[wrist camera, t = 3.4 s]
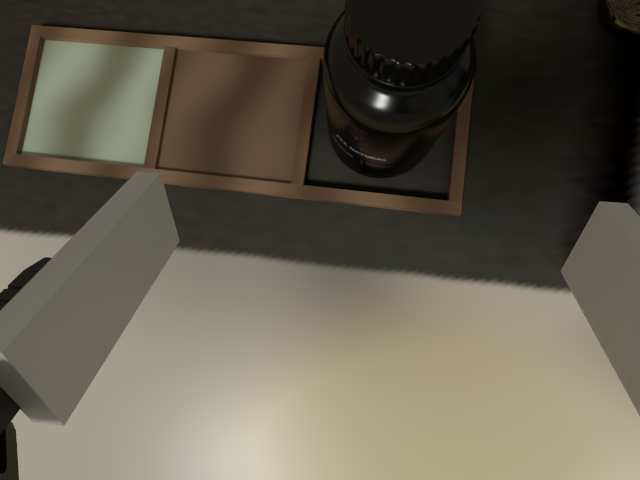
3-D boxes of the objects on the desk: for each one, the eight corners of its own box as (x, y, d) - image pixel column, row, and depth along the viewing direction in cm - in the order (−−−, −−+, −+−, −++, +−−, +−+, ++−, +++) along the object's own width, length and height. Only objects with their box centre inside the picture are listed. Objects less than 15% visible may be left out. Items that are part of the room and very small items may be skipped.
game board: (472, 64, 25) (475, 58, 25) (458, 216, 24) (461, 214, 24) (38, 30, 28) (32, 25, 27) (10, 166, 27) (2, 164, 26)
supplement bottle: (334, 187, 25) (323, 104, 13) (324, 88, 26) (303, -74, 14) (441, 174, 25) (527, 77, 13) (426, 74, 25) (495, -106, 14)
